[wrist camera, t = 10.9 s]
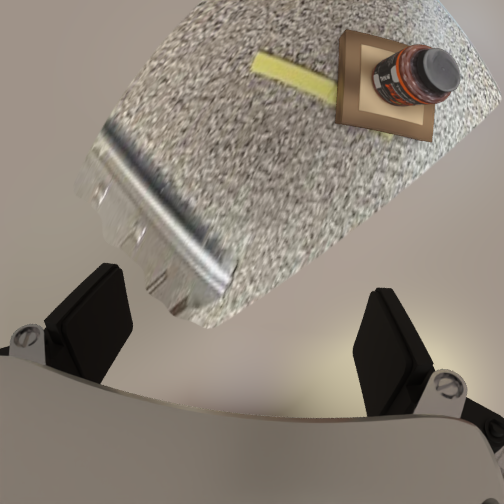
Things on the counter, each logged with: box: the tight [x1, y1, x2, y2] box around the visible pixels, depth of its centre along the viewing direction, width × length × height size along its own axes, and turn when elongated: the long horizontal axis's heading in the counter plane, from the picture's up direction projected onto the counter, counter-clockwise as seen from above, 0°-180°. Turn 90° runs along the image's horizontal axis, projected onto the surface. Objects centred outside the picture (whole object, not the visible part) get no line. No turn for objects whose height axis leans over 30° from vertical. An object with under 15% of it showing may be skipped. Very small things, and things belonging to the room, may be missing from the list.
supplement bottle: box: [372, 44, 460, 107], centre depth 20 cm, size 6×6×11 cm
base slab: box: [335, 29, 435, 142], centre depth 27 cm, size 12×12×4 cm
